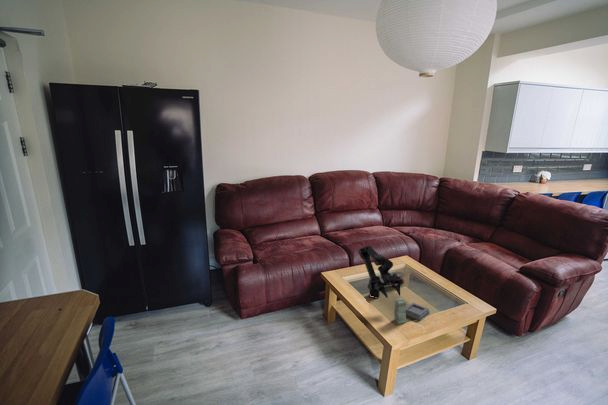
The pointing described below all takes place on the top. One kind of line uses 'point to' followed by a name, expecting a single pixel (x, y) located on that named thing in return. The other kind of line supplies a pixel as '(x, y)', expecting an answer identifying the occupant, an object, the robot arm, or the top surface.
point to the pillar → (400, 311)
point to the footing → (417, 311)
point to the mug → (397, 278)
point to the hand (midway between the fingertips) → (393, 296)
